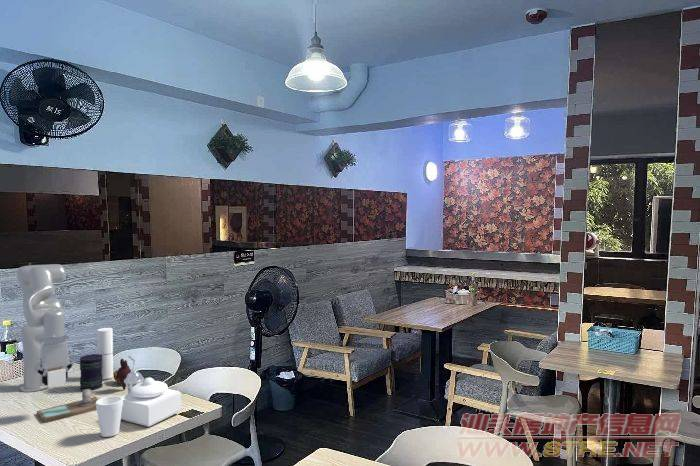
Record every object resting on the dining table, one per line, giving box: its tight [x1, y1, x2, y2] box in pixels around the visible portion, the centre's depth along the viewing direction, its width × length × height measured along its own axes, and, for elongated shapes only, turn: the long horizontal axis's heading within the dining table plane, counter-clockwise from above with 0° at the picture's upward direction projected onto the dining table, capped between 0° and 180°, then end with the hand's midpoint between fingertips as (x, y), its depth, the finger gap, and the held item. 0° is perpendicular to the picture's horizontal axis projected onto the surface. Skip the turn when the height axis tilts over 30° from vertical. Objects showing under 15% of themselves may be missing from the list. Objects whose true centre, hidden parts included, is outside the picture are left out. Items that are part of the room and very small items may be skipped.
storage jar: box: [79, 353, 104, 391], centre depth 237 cm, size 10×10×15 cm
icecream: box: [116, 358, 132, 391], centre depth 233 cm, size 7×7×15 cm
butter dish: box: [120, 377, 182, 427], centre depth 206 cm, size 18×18×16 cm
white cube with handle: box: [46, 367, 67, 388], centre depth 204 cm, size 6×6×7 cm
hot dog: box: [113, 369, 122, 386], centre depth 244 cm, size 5×13×5 cm, turn 42°
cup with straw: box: [124, 355, 145, 394], centre depth 219 cm, size 8×9×20 cm
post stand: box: [36, 389, 99, 424], centre depth 209 cm, size 12×23×8 cm, turn 135°
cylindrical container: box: [96, 327, 114, 380], centre depth 252 cm, size 7×7×25 cm
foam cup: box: [95, 395, 123, 438], centre depth 188 cm, size 10×9×13 cm
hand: (55, 382), depth 204 cm, fingers closed on white cube with handle, 6 cm apart
